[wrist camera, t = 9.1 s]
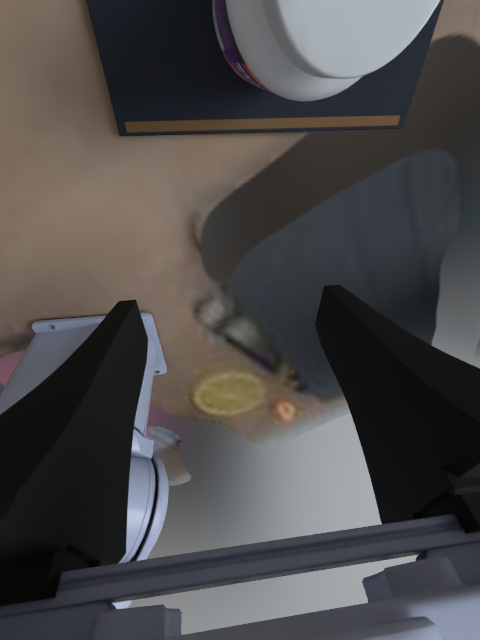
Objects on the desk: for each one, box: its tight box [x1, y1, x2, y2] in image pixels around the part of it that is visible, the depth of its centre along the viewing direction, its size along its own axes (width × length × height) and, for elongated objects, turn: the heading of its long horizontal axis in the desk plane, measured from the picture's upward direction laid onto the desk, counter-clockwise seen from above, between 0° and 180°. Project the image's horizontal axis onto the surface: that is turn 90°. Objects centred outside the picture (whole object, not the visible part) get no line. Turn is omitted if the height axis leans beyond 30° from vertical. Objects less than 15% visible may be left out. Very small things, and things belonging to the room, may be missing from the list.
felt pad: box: [87, 0, 444, 136], centre depth 13 cm, size 16×9×1 cm, turn 90°
